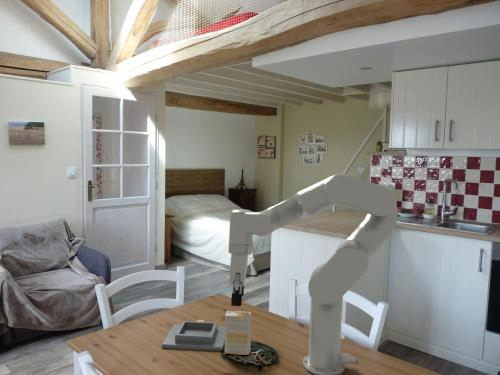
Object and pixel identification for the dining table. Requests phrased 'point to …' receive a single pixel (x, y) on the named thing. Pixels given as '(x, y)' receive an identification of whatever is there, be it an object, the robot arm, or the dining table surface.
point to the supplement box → (238, 332)
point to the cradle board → (196, 336)
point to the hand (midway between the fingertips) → (237, 300)
